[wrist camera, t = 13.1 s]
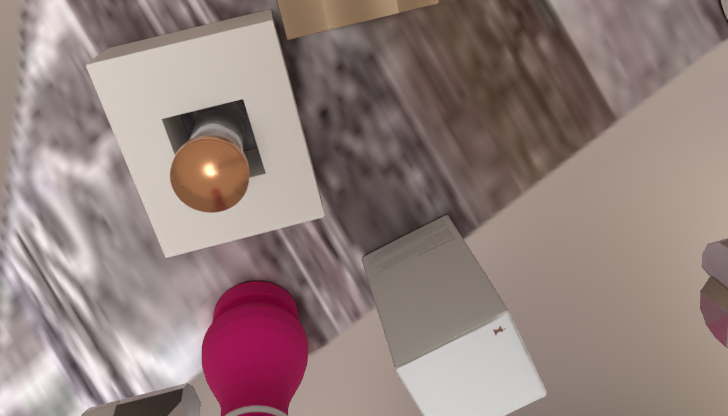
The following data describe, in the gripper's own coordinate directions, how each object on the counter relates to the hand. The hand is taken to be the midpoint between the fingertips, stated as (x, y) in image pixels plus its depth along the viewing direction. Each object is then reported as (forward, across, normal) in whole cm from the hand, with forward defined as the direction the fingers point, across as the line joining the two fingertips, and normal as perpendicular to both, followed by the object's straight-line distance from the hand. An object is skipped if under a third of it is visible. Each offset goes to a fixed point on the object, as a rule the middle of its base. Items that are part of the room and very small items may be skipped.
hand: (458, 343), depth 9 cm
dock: (+31, +7, +4) cm, 32 cm away
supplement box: (+31, -4, +19) cm, 37 cm away
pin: (+31, +7, +4) cm, 32 cm away
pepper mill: (+31, +9, +19) cm, 38 cm away
